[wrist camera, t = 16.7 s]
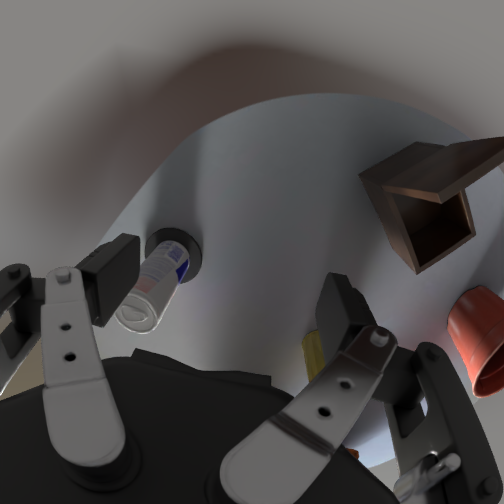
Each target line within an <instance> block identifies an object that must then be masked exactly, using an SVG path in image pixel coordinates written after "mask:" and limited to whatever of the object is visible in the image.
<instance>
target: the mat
mask: <svg viewBox="0 0 504 504" xmlns="http://www.w3.org/2000/svg"><path fill="white" fill-rule="evenodd" d="M164 241H175V242H178V243H180V244H181V245H183V246H184V247H185V248H186V250H187V251H188V253H189V256H190V265H189V267H188V269H187V271H186V273H185V275H184V277H183V278H182V280H181V282H180V284H182V283H186V282H188V281H190V280H192V279H193V278H194V277H195V276H196V275H197V274H198V272H199V270H200V268H201V264H202V254H201V250H200V247H199V245H198V244H197V242H196V241H195V240H194V238H193V237H192V236H190V235H189V234H188V233H186V232H184V231H182V230H180V229H176V228H164V229H161V230H158V231H157V232H155V233H154V234H153V235H152V236H151V237H150V238H149V240H148V241H147V243H146V247H145V259H147V257H148V256H149V255H150V254H151V253H152V252H153V251H154V249H155V248H156V247H157V246H158V245H159V244H160V243H162V242H164Z"/></svg>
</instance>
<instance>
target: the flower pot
mask: <svg viewBox="0 0 504 504" xmlns="http://www.w3.org/2000/svg"><path fill="white" fill-rule="evenodd" d="M447 329H448V332H449V334H450V336H451V338H452V339H453V341H454V343H455V345H456V347H457V349H458V351H459V353H460V355H461V357H462V359H463V361H464V363H465V365H466V367H467V369H468V375H469V377H470V380H471V382H472V384H473V394H474V395H475V396H476V397H479V398H484V397H488V396H491V395H493V394H495V393H497V392H499V391H500V390H502V389H503V388H504V300H503V299H502V298H500V297H499V296H498V295H496V294H495V293H494V292H492V291H491V290H489V289H488V288H487V287H484V286H477V287H476V288H475V289H473V290H468V291H467V292H465V293H464V294H463V295H462V296H461V297H460V298H459V299H458V300H457V302H456V303H455V305H454V306H453V308H452V309H451V312H450V314H449V317H448V326H447Z"/></svg>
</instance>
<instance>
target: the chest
mask: <svg viewBox="0 0 504 504" xmlns="http://www.w3.org/2000/svg"><path fill="white" fill-rule="evenodd" d="M444 147H446V146H443V145H437V144H430V143H424V142H415V143H413V144H411V145H410V146H408V147H406V148H404V149H403V150H401V151H399V152H397V153H395V154H394V155H392V156H390V157H388V158H387V159H385V160H383V161H381V162H380V163H378V164H376V165H374V166H373V167H371V168H369V169H367V170H366V171H364V172H362V173H360V174H359V175H358V176H359V178H360V180H361V182H362V184H363V186H364V188H365V190H366V192H367V194H368V196H369V198H370V200H371V202H372V204H373V206H374V208H375V210H376V212H377V214H378V217H379V219H380V221H381V223H382V225H383V228H384V230H385V232H386V234H387V237H388V239H389V241H390V244H391V246H392V248H393V249H394V251H395V252H396V253H397V254H398V255H399V256H400V257H401V258H402V259H403V260H404V262H405V263H406V264H407V265H408V266H409V267H410V268H411V269H412V270H413V272H414V273H415V274H416V275H418V274H419V273H421V272H422V271H424V270H425V269H427V268H429V267H430V266H432V265H433V264H435V263H436V262H438V261H439V260H441V259H442V258H444V257H445V256H447V255H448V254H450V253H451V252H453V251H454V250H456V249H457V248H459V247H460V246H462V245H463V244H464V243H466V242H467V241H469V240H470V239H471V238H473V237H474V236H476V231H475V227H474V223H473V219H472V215H471V211H470V207H469V203H468V199H467V196H466V193H465V189H463V190H462V191H460V192H459V193H457V194H456V195H454V196H453V197H451V198H450V199H448V200H447V201H445V202H444V203H442V204H441V203H437V202H432V201H428V200H424V199H419V198H415V197H410V196H406V195H401V194H396V193H391V192H386V191H384V190H383V188H382V186H381V184H383V183H385V182H386V181H388V180H390V179H392V178H393V177H395V176H397V175H398V174H400V173H402V172H403V171H405V170H407V169H409V168H410V167H412V166H414V165H415V164H417V163H419V162H421V161H422V160H424V159H426V158H427V157H429V156H431V155H432V154H434V153H436V152H438V151H439V150H441V149H443V148H444Z"/></svg>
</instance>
